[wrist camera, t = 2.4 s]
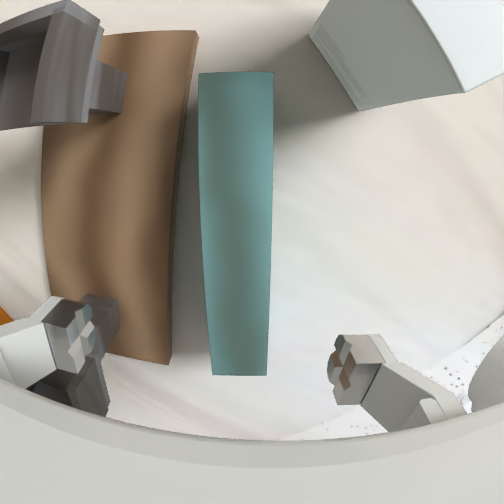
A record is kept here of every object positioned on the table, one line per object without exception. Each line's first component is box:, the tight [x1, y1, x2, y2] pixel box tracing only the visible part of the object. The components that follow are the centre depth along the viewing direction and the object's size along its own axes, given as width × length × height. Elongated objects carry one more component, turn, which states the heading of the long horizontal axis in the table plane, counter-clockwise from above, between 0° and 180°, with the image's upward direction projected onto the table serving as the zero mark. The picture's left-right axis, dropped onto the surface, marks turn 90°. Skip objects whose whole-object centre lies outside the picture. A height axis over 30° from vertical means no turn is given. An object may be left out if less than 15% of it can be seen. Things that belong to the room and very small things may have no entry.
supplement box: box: [308, 0, 504, 111], centre depth 12 cm, size 7×7×13 cm
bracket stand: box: [0, 0, 199, 417], centre depth 16 cm, size 12×28×13 cm, turn 172°
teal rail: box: [198, 72, 273, 376], centre depth 20 cm, size 4×20×6 cm, turn 0°
